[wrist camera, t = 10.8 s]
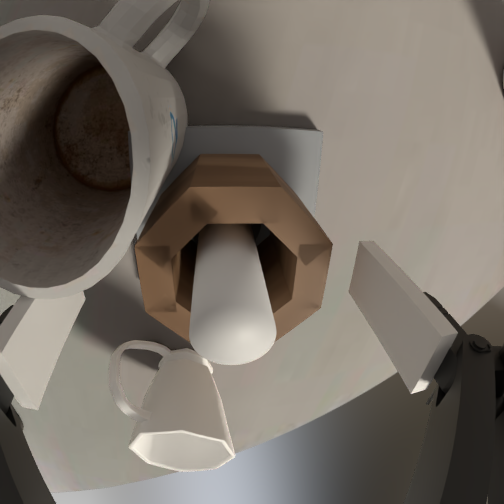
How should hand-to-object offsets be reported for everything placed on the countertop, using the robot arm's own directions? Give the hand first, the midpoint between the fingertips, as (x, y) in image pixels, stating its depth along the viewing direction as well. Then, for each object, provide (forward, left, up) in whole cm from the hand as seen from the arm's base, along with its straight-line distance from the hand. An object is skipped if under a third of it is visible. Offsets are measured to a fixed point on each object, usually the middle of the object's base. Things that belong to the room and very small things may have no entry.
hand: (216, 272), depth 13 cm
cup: (-4, -11, -6) cm, 13 cm away
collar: (+1, +1, -4) cm, 5 cm away
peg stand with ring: (0, +1, -5) cm, 5 cm away
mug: (-4, +7, -6) cm, 10 cm away
